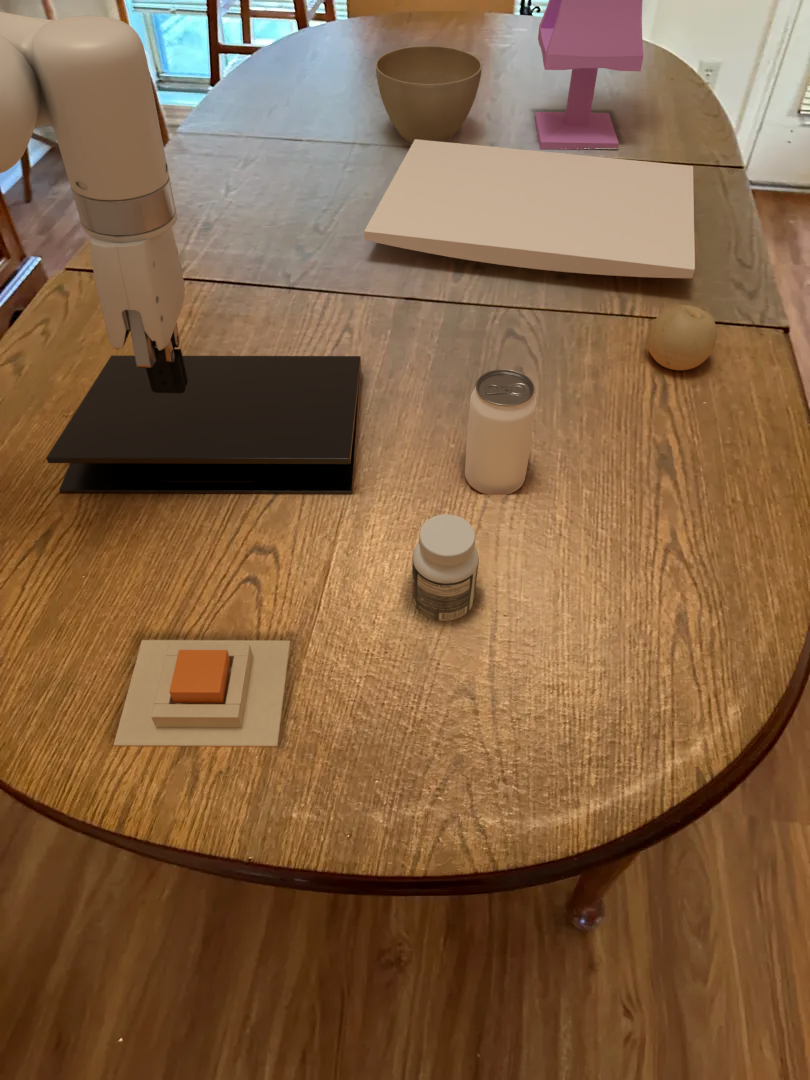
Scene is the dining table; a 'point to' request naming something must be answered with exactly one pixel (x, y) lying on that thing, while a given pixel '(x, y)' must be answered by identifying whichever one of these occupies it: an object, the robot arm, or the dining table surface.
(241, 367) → the laptop screen
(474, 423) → the can
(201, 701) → the push button
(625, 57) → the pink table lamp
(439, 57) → the flower pot
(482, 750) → the dining table surface
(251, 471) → the laptop
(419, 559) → the pill bottle
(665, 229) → the board
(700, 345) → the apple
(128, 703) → the stepped tan base
